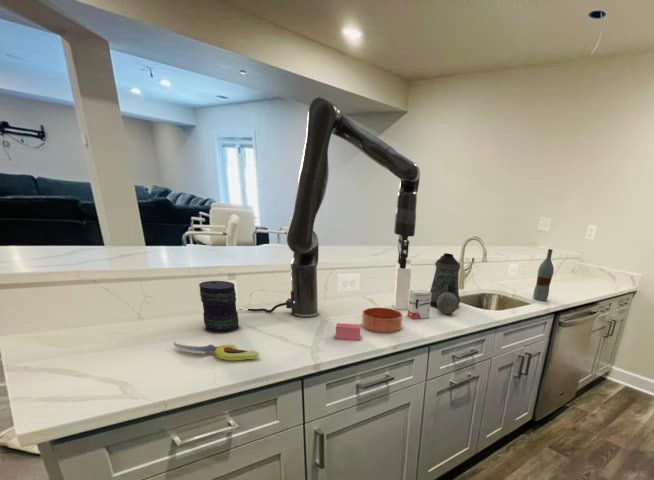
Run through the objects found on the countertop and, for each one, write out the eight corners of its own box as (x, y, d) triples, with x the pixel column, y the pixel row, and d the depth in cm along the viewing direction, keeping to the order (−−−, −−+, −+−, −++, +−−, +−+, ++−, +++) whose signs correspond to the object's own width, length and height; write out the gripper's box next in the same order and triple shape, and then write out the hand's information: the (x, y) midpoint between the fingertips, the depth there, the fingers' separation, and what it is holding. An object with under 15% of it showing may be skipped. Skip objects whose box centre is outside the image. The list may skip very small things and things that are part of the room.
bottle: (548, 302, 231) (559, 251, 219) (533, 300, 230) (544, 249, 219) (545, 298, 239) (556, 249, 228) (531, 296, 239) (541, 247, 227)
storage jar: (243, 330, 129) (239, 287, 124) (210, 335, 123) (204, 289, 117) (233, 321, 135) (228, 280, 130) (200, 325, 128) (194, 281, 123)
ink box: (412, 319, 165) (414, 292, 161) (407, 315, 169) (409, 289, 164) (429, 318, 170) (432, 292, 165) (424, 314, 174) (426, 289, 169)
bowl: (361, 332, 143) (361, 318, 141) (362, 319, 156) (363, 306, 154) (402, 334, 146) (403, 320, 144) (400, 321, 160) (401, 309, 158)
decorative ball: (457, 312, 185) (459, 291, 181) (456, 317, 175) (458, 296, 171) (436, 309, 184) (439, 288, 181) (434, 315, 175) (436, 293, 171)
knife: (160, 354, 106) (251, 365, 108) (158, 345, 105) (250, 356, 106) (179, 344, 114) (264, 354, 115) (178, 336, 113) (264, 346, 114)
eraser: (335, 339, 133) (335, 326, 132) (336, 335, 137) (336, 323, 135) (359, 340, 135) (359, 328, 133) (360, 336, 139) (360, 324, 137)
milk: (408, 309, 178) (412, 261, 169) (394, 308, 176) (398, 260, 167) (406, 305, 183) (410, 259, 174) (393, 305, 181) (396, 258, 172)
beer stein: (442, 311, 183) (448, 258, 173) (416, 300, 194) (420, 250, 184) (466, 307, 194) (472, 257, 185) (439, 297, 206) (444, 250, 196)
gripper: (393, 218, 145) (390, 261, 152) (396, 221, 133) (392, 268, 139) (413, 221, 147) (409, 263, 153) (417, 224, 135) (413, 270, 141)
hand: (401, 265), depth 146 cm, fingers open, 8 cm apart
